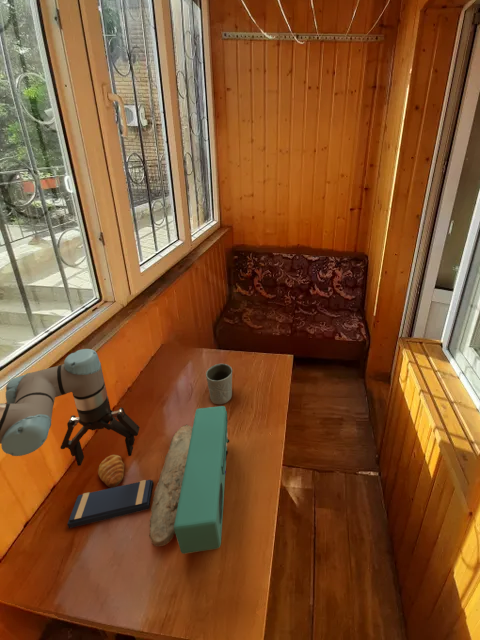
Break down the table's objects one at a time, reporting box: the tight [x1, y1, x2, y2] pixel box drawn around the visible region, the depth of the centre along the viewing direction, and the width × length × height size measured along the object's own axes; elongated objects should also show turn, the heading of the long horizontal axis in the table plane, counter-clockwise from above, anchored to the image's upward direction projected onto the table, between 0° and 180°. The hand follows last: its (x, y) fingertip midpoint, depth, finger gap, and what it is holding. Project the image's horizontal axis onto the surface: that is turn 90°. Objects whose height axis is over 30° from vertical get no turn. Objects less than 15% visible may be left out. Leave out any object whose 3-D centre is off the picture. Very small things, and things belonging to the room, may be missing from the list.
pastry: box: [97, 454, 125, 488], centre depth 95 cm, size 9×7×4 cm
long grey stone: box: [148, 424, 193, 547], centre depth 93 cm, size 35×5×10 cm
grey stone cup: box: [205, 363, 233, 405], centre depth 123 cm, size 10×10×12 cm
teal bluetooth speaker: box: [174, 405, 230, 555], centre depth 88 cm, size 34×10×15 cm, turn 7°
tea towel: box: [67, 479, 154, 529], centre depth 87 cm, size 20×7×3 cm, turn 103°
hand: (106, 456), depth 93 cm, fingers open, 13 cm apart
